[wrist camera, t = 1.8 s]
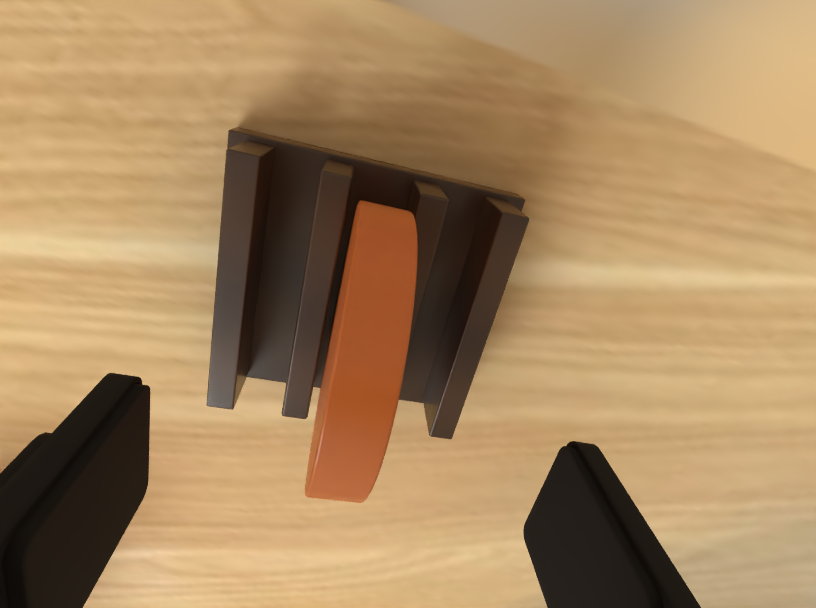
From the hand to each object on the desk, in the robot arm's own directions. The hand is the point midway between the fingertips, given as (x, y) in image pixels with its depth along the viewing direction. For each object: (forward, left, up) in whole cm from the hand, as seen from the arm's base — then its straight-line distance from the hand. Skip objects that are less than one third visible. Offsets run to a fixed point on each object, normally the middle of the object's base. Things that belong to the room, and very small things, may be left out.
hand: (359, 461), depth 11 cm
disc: (0, 0, -9) cm, 9 cm away
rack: (0, 0, -10) cm, 10 cm away
